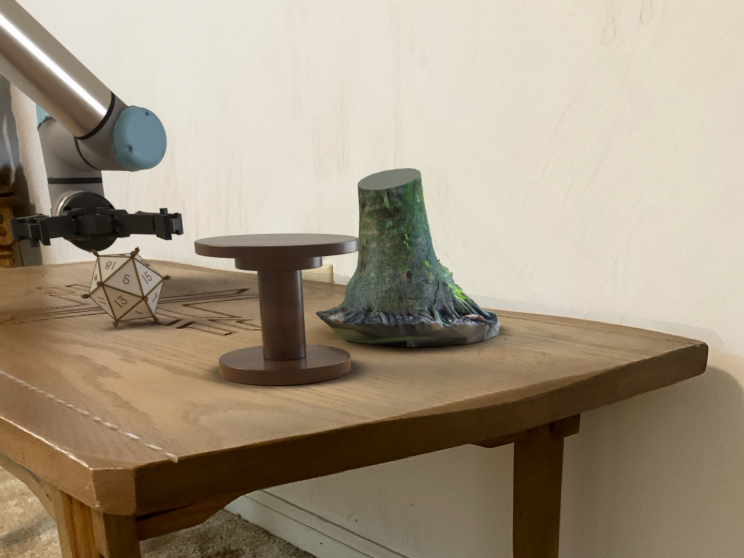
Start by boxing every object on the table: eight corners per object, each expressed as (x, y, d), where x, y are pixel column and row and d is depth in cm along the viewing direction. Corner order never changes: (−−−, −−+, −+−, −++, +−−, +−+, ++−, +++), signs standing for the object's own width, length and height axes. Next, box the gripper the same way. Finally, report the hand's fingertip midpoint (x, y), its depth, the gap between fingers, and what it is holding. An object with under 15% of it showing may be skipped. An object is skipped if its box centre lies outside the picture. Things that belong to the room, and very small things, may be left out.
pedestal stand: (185, 366, 74) (170, 238, 69) (318, 349, 80) (312, 231, 76) (244, 396, 64) (232, 249, 59) (391, 374, 70) (389, 240, 66)
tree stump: (537, 330, 91) (536, 150, 80) (441, 415, 78) (424, 216, 67) (396, 307, 100) (377, 143, 89) (288, 380, 87) (252, 200, 76)
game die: (118, 360, 94) (47, 287, 90) (156, 320, 100) (91, 250, 96) (163, 325, 89) (91, 246, 84) (201, 286, 94) (135, 210, 90)
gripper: (183, 245, 122) (218, 258, 104) (-6, 254, 113) (-3, 270, 95) (176, 189, 119) (211, 192, 101) (-19, 193, 109) (-17, 198, 92)
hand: (108, 230), depth 98 cm, fingers open, 13 cm apart
